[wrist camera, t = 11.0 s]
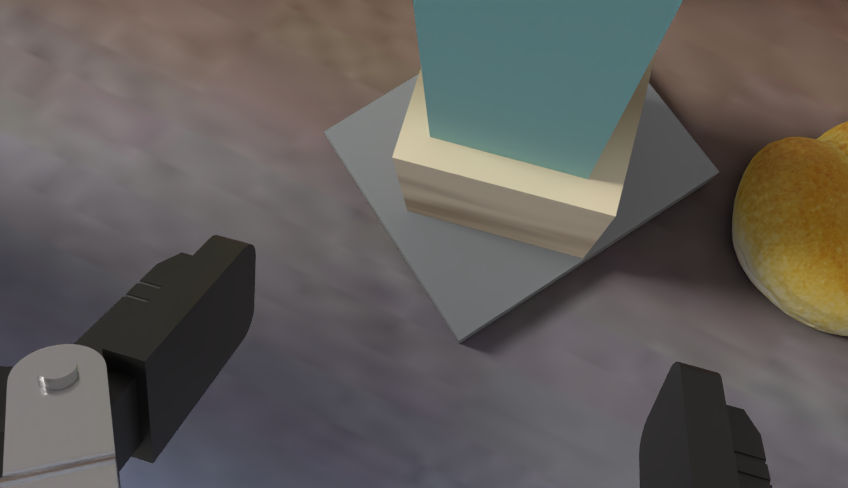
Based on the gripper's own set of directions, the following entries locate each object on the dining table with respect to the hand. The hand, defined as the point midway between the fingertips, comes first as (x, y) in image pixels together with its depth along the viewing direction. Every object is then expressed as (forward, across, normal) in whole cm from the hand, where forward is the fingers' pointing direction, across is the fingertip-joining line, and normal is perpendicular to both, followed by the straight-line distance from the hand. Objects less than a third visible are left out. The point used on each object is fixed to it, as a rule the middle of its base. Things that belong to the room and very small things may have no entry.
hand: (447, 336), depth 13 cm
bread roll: (+18, -13, +4) cm, 22 cm away
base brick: (+16, 0, +3) cm, 16 cm away
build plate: (+17, 0, +4) cm, 17 cm away
